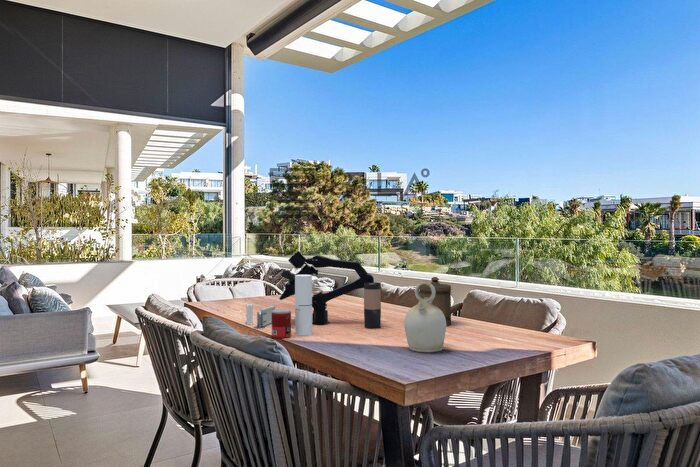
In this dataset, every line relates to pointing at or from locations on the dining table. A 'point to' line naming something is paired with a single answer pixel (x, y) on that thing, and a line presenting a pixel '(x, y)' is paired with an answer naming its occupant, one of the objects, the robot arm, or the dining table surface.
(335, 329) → the dining table surface
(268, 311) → the gate
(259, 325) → the hinge post
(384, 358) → the dining table surface
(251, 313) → the latch post
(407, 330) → the jug
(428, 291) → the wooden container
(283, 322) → the canned food
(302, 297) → the cylindrical container
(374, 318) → the travel mug
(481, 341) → the dining table surface
